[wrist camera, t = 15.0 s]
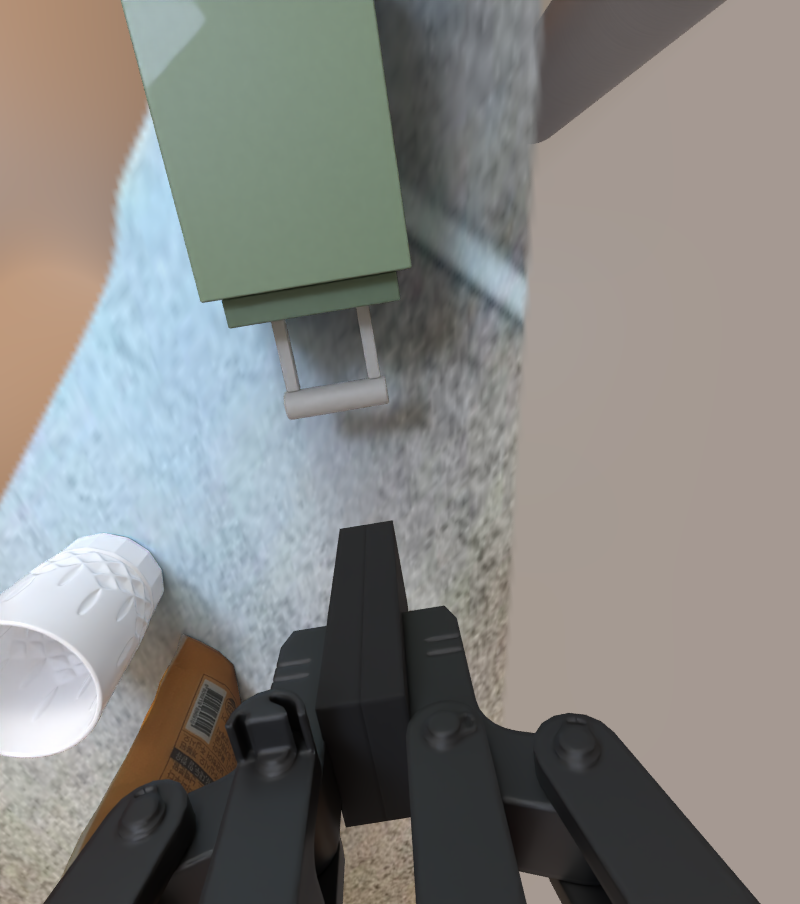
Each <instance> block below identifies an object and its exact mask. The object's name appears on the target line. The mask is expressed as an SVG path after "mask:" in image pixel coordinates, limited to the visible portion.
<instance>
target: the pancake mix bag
mask: <svg viewBox="0 0 800 904" xmlns="http://www.w3.org/2000/svg"><path fill="white" fill-rule="evenodd" d="M240 704H241V700H240V695H239V690H238V684H237V679H236V674H235V670H234V666H233V664H232V663H231V662H230V661H229V660H228V659H226V658H225V657H224V656H223V655H222V654H221V653H220V652H219V651H217V650H215V649H213V648H212V647H210V646H208V645H206V644H204V643H202V642H201V641H198V640H196V639H193V638H191V637H188V636H186V635H183V634H182V635H181V639H180V642H179V645H178V649H177V652H176V654H175V656H174V658H173V660H172V662H171V664H170V665H169V666H168V668H167V670H166V672H165V673H164V675H163V677H162V679H161V680H160V683H159V686H158V690H157V693H156V696H155V699H154V701H153V703H152V705H151V707H150V709H149V711H148V713H147V714H146V716H145V719H144V721H143V723H142V726H141V728H140V731H139V733H138V735H137V736H136V738H135V740H134V743H133V745H132V747H131V749H130V751H129V753H128V755H127V757H126V759H125V760H124V762H123V764H122V765H121V767H120V769H119V771H118V772H117V774H116V776H115V777H114V779H113V781H112V783H111V784H110V786H109V788H108V790H107V792H106V794H105V796H104V797H103V799H102V801H101V803H100V805H99V807H98V809H97V810H96V812H95V813H94V815H93V817H92V818H91V820H90V821H89V823H88V825H87V826H86V828H85V829H84V831H83V833H82V834H81V836H80V838H79V840H78V842H77V844H76V847H75V849H74V851H73V853H72V855H71V857H70V859H69V861H68V864H67V866H66V868H65V870H64V873H63V875H62V877H63V876H64V874H65V873H66V871H67V870H68V869H69V867H70V866H71V864H72V863H73V862H74V860H75V859H76V857H77V856H78V855H79V853H80V852H81V850H82V849H83V848H84V846H85V845H86V843H87V842H88V841H89V839H90V838H91V837H92V835H93V834H94V832H95V831H96V830H97V828H98V827H99V825H100V824H101V823H102V821H103V820H104V818H105V817H106V816H107V814H108V813H109V812H110V811H111V810H112V809H113V808H114V806H115V805H116V804H117V803H118V802H119V801H120V800H121V799H122V798H124V797H125V796H126V795H128V794H129V793H130V792H132V791H133V790H135V789H136V788H138V787H140V786H142V785H145V784H147V783H149V782H152V781H156V780H164V779H170V780H173V781H176V782H179V783H180V784H181V785H182V786H183V788H184V789H185V790H186V792H187V793H189V792H192V791H194V790H196V789H198V788H201V787H203V786H205V785H207V784H210V783H212V782H214V781H216V780H218V779H220V778H222V777H224V776H226V775H227V774H229V773H230V772H232V771H233V770H234V769H236V767H237V761H236V758H235V755H234V752H233V749H232V746H231V743H230V740H229V737H228V734H227V731H226V728H225V724H226V722H227V720H228V719H229V717H230V715H231V713H232V712H233V711H234V710H235V709H236V708H237V707H238V706H239V705H240Z"/></svg>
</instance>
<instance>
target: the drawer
mask: <svg viewBox="0 0 800 904" xmlns="http://www.w3.org/2000/svg"><path fill="white" fill-rule="evenodd" d="M399 300H400V292H399V286H398V279H397V273H396V271H392V272H386V273H380V274H374V275H367V276H361V277H355V278H349V279H343V280H337V281H331V282H325V283H319V284H313V285H307V286H301V287H295V288H289V289H283V290H277V291H271V292H265V293H259V294H253V295H247V296H241V297H235V298H229V299H223V300H222V303H223V307H224V311H225V315H226V319H227V323H228V327H229V328H236V327H242V326H248V325H254V324H260V323H266V322H271V323H272V328H273V332H274V337H275V341H276V345H277V350H278V354H279V359H280V363H281V367H282V372H283V376H284V381H285V385H286V389H287V392H285V393H284V405H285V410H286V414H287V416H288V418H289V419H290V420H293V419H299V418H305V417H311V416H317V415H323V414H329V413H335V412H341V411H347V410H353V409H359V408H365V407H371V406H377V405H383V404H388V403H389V398H388V392H387V386H386V380H385V376H381V375H380V369H379V363H378V357H377V351H376V345H375V339H374V334H373V328H372V322H371V316H370V310H369V305H374V304H380V303H387V302H393V301H399ZM350 308H356V311H357V316H358V322H359V328H360V333H361V339H362V345H363V350H364V356H365V362H366V367H367V373H368V378H366V379H360V380H354V381H348V382H342V383H336V384H330V385H324V386H318V387H312V388H306V389H300V384H299V379H298V375H297V370H296V365H295V361H294V356H293V352H292V347H291V343H290V338H289V334H288V329H287V324H286V320H285V319H290V318H296V317H302V316H308V315H314V314H320V313H326V312H332V311H338V310H344V309H350Z"/></svg>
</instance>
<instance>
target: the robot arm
mask: <svg viewBox="0 0 800 904" xmlns="http://www.w3.org/2000/svg"><path fill="white" fill-rule="evenodd" d="M225 728H226V731H227V734H228V737H229V740H230V743H231V746H232V749H233V752H234V755H235V758H236V761H237V767H236V769H234V770H233V771H232V772H230V773H229V774H227V775H226V776H224V777H222V778H220V779H218V780H216V781H214V782H212V783H210V784H207V785H205V786H203V787H201V788H198V789H196V790H194V791H192V792H189V793H187V792H186V790H185V789H184V788H183V786H182V785H181V784H180V783H179V782H176V781H173V780H170V779H164V780H156V781H152V782H149V783H147V784H145V785H142V786H140V787H138V788H136V789H135V790H133V791H132V792H130V793H129V794H128V795H126V796H125V797H124V798H122V799H121V800H120V801H119V802H118V803H117V804H116V805H115V806H114V808H113V809H112V810H111V811H110V812H109V813H108V814H107V816H106V817H105V818H104V820H103V821H102V823H101V824H100V825H99V827H98V828H97V830H96V831H95V832H94V834H93V835H92V837H91V838H90V839H89V841H88V842H87V843H86V845H85V846H84V848H83V849H82V850H81V852H80V853H79V855H78V856H77V857H76V859H75V860H74V862H73V863H72V864H71V866H70V867H69V869H68V870H67V871H66V873H65V874H64V876H63V877H62V878H61V880H60V881H59V883H58V884H57V885H56V887H55V888H54V890H53V891H52V892H51V894H50V895H49V897H48V898H47V899H46V901H45V902H44V904H343V886H344V866H345V858H344V851H343V846H342V842H341V838H340V820H341V810H342V814H343V818H344V822H345V826H346V827H351V826H358V825H364V824H370V823H377V822H383V821H390V820H396V819H402V818H409V817H411V828H412V844H413V860H414V876H415V893H416V904H527V903H526V899H525V895H524V891H523V887H522V882H521V878H520V874H519V871H521V872H525V873H530V874H535V875H539V876H544V877H548V878H549V879H550V882H551V884H552V886H553V887H554V889H555V891H556V893H557V895H558V897H559V899H560V901H561V903H562V904H760V903H759V902H758V900H757V899H756V898H755V897H754V896H753V894H752V893H751V892H750V891H749V890H748V889H747V887H746V886H745V885H744V884H743V883H742V882H741V880H740V879H739V878H738V877H737V876H736V875H735V873H734V872H733V871H732V870H731V869H730V868H729V867H728V865H727V864H726V863H725V862H724V860H723V859H722V858H721V857H720V856H719V855H718V853H717V852H716V851H715V850H714V849H713V848H712V846H711V845H710V844H709V843H708V842H707V841H706V839H705V838H704V837H703V836H702V835H701V834H700V832H699V831H698V830H697V829H696V828H695V826H694V825H693V824H692V823H691V822H690V821H689V819H688V818H687V817H686V816H685V815H684V814H683V812H682V811H681V810H680V809H679V808H678V807H677V805H676V804H675V803H674V802H673V801H672V800H671V799H670V797H669V796H668V795H667V794H666V793H665V791H664V790H663V789H662V788H661V787H660V786H659V784H658V783H657V782H656V781H655V780H654V779H653V778H652V776H651V775H650V774H649V773H648V771H647V770H646V769H645V768H644V767H643V766H642V764H641V763H640V762H639V761H638V760H637V759H636V757H635V756H634V755H633V754H632V753H631V752H630V751H629V749H628V748H627V747H626V746H625V745H624V743H623V742H622V741H621V740H620V739H619V738H618V736H617V735H616V734H615V733H614V732H613V731H612V730H611V729H610V728H608V727H607V726H606V725H605V724H603V723H602V722H601V721H599V720H596V719H594V718H592V717H589V716H587V715H582V714H573V713H566V714H561V715H556V716H553V717H551V718H550V719H548V720H546V721H545V722H543V723H542V724H541V725H540V727H539V728H538V730H537V731H536V733H529V732H521V731H515V730H511V729H507V728H504V727H501V726H499V725H497V724H495V723H493V722H492V721H491V720H489V719H488V718H487V717H486V716H485V715H484V714H483V713H482V711H481V710H480V709H479V707H478V704H477V702H476V698H475V694H474V690H473V686H472V681H471V677H470V673H469V669H468V664H467V660H466V656H465V652H464V648H463V643H462V639H461V635H460V630H459V626H458V622H457V618H456V617H455V616H454V615H453V614H452V613H451V612H450V611H449V610H448V609H447V608H446V607H445V606H439V607H433V608H426V609H420V610H414V611H408V606H407V599H406V593H405V587H404V582H403V576H402V571H401V565H400V559H399V554H398V548H397V542H396V537H395V531H394V526H393V520H392V521H386V522H380V523H374V524H368V525H361V526H355V527H349V528H343V529H340V532H339V539H338V547H337V554H336V561H335V568H334V576H333V583H332V590H331V597H330V604H329V612H328V619H327V626H324V627H317V628H311V629H305V630H299V631H294V632H293V633H292V634H291V635H290V637H289V638H288V639H287V641H286V642H285V643H284V645H283V646H282V647H281V650H280V654H279V658H278V662H277V668H276V670H275V674H274V678H273V683H272V686H271V690H268V691H264V692H261V693H258V694H256V695H254V696H252V697H250V698H249V699H247V700H245V701H244V702H242V703H241V704H240V705H239V706H238V707H237V708H236V709H235V710H234V711H233V712H232V713H231V715H230V717H229V719H228V720H227V722H226V724H225Z"/></svg>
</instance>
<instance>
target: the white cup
mask: <svg viewBox="0 0 800 904" xmlns="http://www.w3.org/2000/svg"><path fill="white" fill-rule="evenodd" d="M163 593H164V585H163V576H162V570H161V568H160V567H159V565H158V564H157V562H156V561H155V559H154V558H153V556H152V555H151V553H150V552H149V551H148V550H147V549H145V548H143V547H142V546H140V545H139V544H137V543H136V542H134V541H133V540H131V539H130V538H127V537H122V536H117V535H113V534H108V533H99V534H94V535H89V536H84V537H79V538H78V539H76V540H75V541H74V542H73V543H71V544H70V545H69V546H67V547H66V548H65V549H63V550H62V551H61V552H60V553H58V554H57V555H55V556H54V557H52V558H51V559H49V560H47V561H44V562H43V563H41V564H40V565H39V566H38V567H36V568H35V569H33V570H32V571H30V572H29V573H27V574H26V575H24V576H23V577H22V578H21V579H20V580H18V581H17V582H16V583H14V584H13V585H12V586H11V587H9V588H8V589H7V590H5V591H4V592H3V593H1V594H0V755H2V756H8V757H15V758H39V757H46V756H51V755H55V754H58V753H61V752H64V751H66V750H68V749H70V748H72V747H74V746H76V745H77V744H79V743H80V742H81V741H83V740H84V739H85V738H86V737H87V736H88V735H89V734H90V733H91V732H92V730H93V729H94V727H95V726H96V724H97V722H98V720H99V719H100V717H101V715H102V713H103V711H104V709H105V707H106V705H107V704H108V702H109V700H110V698H111V696H112V694H113V693H114V691H115V689H116V687H117V685H118V683H119V682H120V680H121V678H122V676H123V674H124V672H125V671H126V669H127V667H128V665H129V663H130V662H131V660H132V658H133V656H134V654H135V652H136V650H137V648H138V647H139V645H140V643H141V640H142V638H143V636H144V634H145V632H146V630H147V628H148V626H149V621H150V619H151V617H152V615H153V614H154V612H155V610H156V608H157V606H158V603H159V601H160V599H161V597H162V595H163Z"/></svg>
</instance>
